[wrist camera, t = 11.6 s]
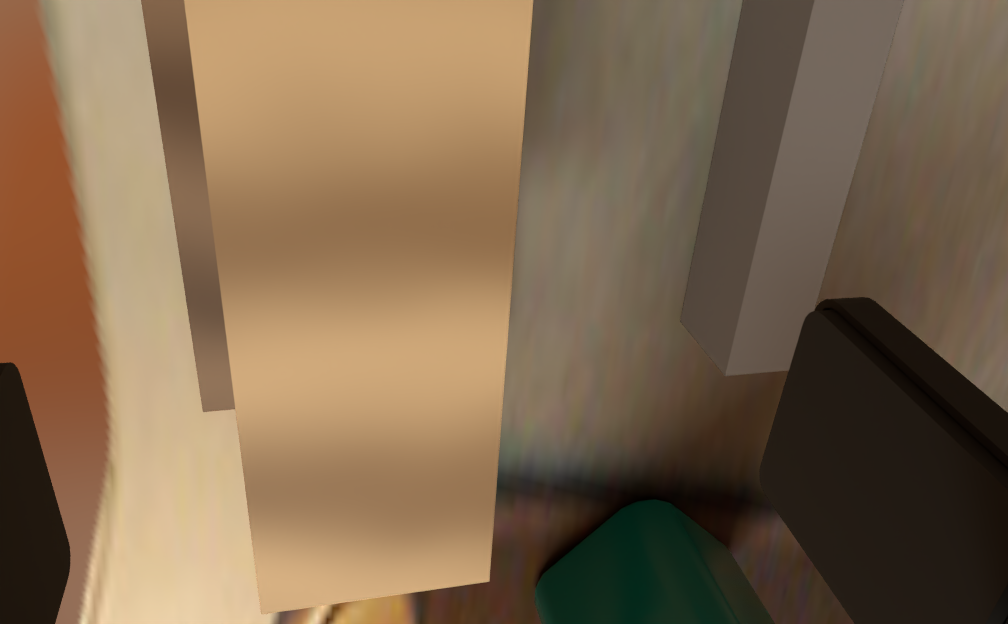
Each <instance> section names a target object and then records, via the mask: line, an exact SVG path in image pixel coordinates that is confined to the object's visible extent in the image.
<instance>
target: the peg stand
mask: <svg viewBox="0 0 1008 624" xmlns="http://www.w3.org/2000/svg"><path fill="white" fill-rule="evenodd" d="M141 3H142V9H143V16H144V22H145V29H146V36H147V42H148V49H149V56H150V62H151V69H152V76H153V82H154V89H155V96H156V102H157V109H158V116H159V122H160V129H161V135H162V142H163V149H164V155H165V162H166V169H167V175H168V182H169V189H170V195H171V202H172V209H173V215H174V222H175V229H176V235H177V242H178V248H179V255H180V262H181V268H182V275H183V282H184V288H185V295H186V302H187V308H188V315H189V322H190V328H191V335H192V342H193V348H194V355H195V362H196V368H197V375H198V381H199V388H200V395H201V401H202V408H203V412H208V411H219V410H231V409H235V402H234V394H233V386H232V378H231V370H230V362H229V354H228V346H227V338H226V330H225V322H224V314H223V306H222V298H221V290H220V282H219V274H218V266H217V259H216V251H215V243H214V235H213V227H212V219H211V211H210V203H209V195H208V187H207V179H206V171H205V163H204V155H203V147H202V139H201V131H200V123H199V115H198V107H197V99H196V91H195V83H194V75H193V67H192V60H191V52H190V44H189V36H188V28H187V20H186V12H185V4H184V0H141Z"/></svg>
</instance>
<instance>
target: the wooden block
mask: <svg viewBox="0 0 1008 624" xmlns="http://www.w3.org/2000/svg"><path fill="white" fill-rule="evenodd" d="M184 4H185V12H186V20H187V28H188V36H189V44H190V52H191V60H192V67H193V75H194V83H195V91H196V99H197V107H198V115H199V123H200V131H201V139H202V147H203V155H204V163H205V171H206V179H207V187H208V195H209V203H210V211H211V219H212V227H213V235H214V243H215V251H216V259H217V266H218V274H219V282H220V290H221V298H222V306H223V314H224V322H225V330H226V338H227V346H228V354H229V362H230V370H231V378H232V386H233V394H234V402H235V410H236V418H237V426H238V434H239V442H240V450H241V458H242V466H243V473H244V481H245V489H246V497H247V505H248V513H249V521H250V529H251V537H252V545H253V553H254V561H255V569H256V577H257V585H258V593H259V601H260V609H261V614H268V613H274V612H281V611H288V610H295V609H302V608H309V607H316V606H323V605H330V604H337V603H344V602H351V601H357V600H364V599H371V598H378V597H385V596H392V595H399V594H406V593H413V592H420V591H427V590H433V589H440V588H447V587H454V586H461V585H468V584H475V583H482V582H489V577H490V564H491V550H492V537H493V524H494V511H495V498H496V485H497V471H498V458H499V445H500V432H501V419H502V405H503V392H504V379H505V366H506V353H507V340H508V326H509V313H510V300H511V287H512V274H513V260H514V247H515V234H516V221H517V208H518V195H519V181H520V168H521V155H522V142H523V129H524V116H525V102H526V89H527V76H528V63H529V50H530V36H531V23H532V10H533V0H184Z"/></svg>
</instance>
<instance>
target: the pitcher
mask: <svg viewBox="0 0 1008 624" xmlns="http://www.w3.org/2000/svg"><path fill="white" fill-rule="evenodd" d="M534 602H535V605H536V608H537V611H538V614H539V617H540V620H541V623H542V624H775V623H774V621H773V620H772V618H771V617H770V615H769V613H768V612H767V610H766V609H765V607H764V605H763V604H762V602H761V601H760V599H759V597H758V596H757V594H756V593H755V591H754V589H753V588H752V586H751V585H750V583H749V581H748V580H747V578H746V577H745V575H744V574H743V572H742V570H741V569H740V567H739V566H738V564H737V562H736V561H735V559H734V558H733V556H732V554H731V553H730V551H729V550H728V548H727V547H726V546H725V545H723V544H722V543H721V542H720V541H718V540H717V539H716V538H715V537H713V536H712V535H711V534H709V533H708V532H707V531H706V530H704V529H703V528H702V527H701V526H699V525H698V524H697V523H695V522H694V521H693V520H692V519H690V518H689V517H688V516H687V515H685V514H684V513H683V512H681V511H680V510H679V509H678V508H676V507H675V506H674V505H673V504H671V503H670V502H668V501H663V500H658V499H649V500H642V501H635V502H633V503H631V504H629V505H626V506H624V507H622V508H621V509H620V510H618V511H617V512H616V513H615V514H614V515H612V516H611V517H610V518H609V519H608V520H606V521H605V522H604V523H603V524H602V525H600V526H599V527H598V528H597V529H596V530H594V531H593V532H592V533H591V534H590V535H588V536H587V537H586V538H585V539H584V540H582V541H581V542H580V543H579V544H578V545H576V546H575V547H574V548H573V549H572V550H570V551H569V552H568V553H567V554H566V555H564V556H563V557H562V558H561V559H560V560H558V561H557V562H556V563H555V564H554V565H552V566H551V567H550V568H549V569H548V570H546V571H545V572H544V573H543V575H542V576H541V578H540V580H539V581H538V583H537V585H536V590H535V601H534Z"/></svg>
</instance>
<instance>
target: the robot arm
mask: <svg viewBox="0 0 1008 624" xmlns="http://www.w3.org/2000/svg"><path fill="white" fill-rule="evenodd" d="M760 482H761V486H762V489H763V491H764V493H765V495H766V497H767V498H768V499H769V501H770V502H771V504H772V505H773V507H774V508H775V510H776V511H777V512H778V514H779V515H780V517H781V518H782V520H783V521H784V522H785V524H786V525H787V527H788V528H789V530H790V531H791V533H792V534H793V535H794V537H795V538H796V540H797V541H798V543H799V544H800V546H801V547H802V548H803V550H804V551H805V553H806V554H807V556H808V557H809V559H810V560H811V561H812V563H813V564H814V566H815V567H816V569H817V570H818V571H819V573H820V574H821V576H822V577H823V579H824V580H825V582H826V583H827V584H828V586H829V587H830V589H831V590H832V592H833V593H834V595H835V596H836V597H837V599H838V600H839V602H840V603H841V605H842V606H843V608H844V609H845V610H846V612H847V613H848V615H849V616H850V618H851V619H852V620H853V622H854V623H855V624H1008V413H1007V412H1006V411H1005V410H1003V409H1002V408H1001V407H1000V406H999V405H998V404H996V403H995V402H994V401H993V400H992V399H990V398H989V397H988V396H987V395H986V394H984V393H983V392H982V391H981V390H980V389H979V388H977V387H976V386H975V385H974V384H973V383H971V382H970V381H969V380H968V379H967V378H965V377H964V376H963V375H962V374H961V373H959V372H958V371H957V370H956V369H955V368H954V367H952V366H951V365H950V364H949V363H948V362H946V361H945V360H944V359H943V358H942V357H940V356H939V355H938V354H937V353H936V352H935V351H933V350H932V349H931V348H930V347H929V346H927V345H926V344H925V343H924V342H923V341H921V340H920V339H919V338H918V337H917V336H916V335H914V334H913V333H912V332H911V331H910V330H908V329H907V328H906V327H905V326H904V325H902V324H901V323H900V322H899V321H898V320H897V319H895V318H894V317H893V316H892V315H891V314H889V313H888V312H887V311H886V310H885V309H883V308H882V307H881V306H880V305H879V304H877V303H876V302H875V301H873V300H872V299H870V298H865V297H858V298H842V299H826V300H824V301H822V302H820V303H819V304H818V306H817V307H816V308H815V311H813V312H810V313H809V314H808V315H807V316H806V317H805V320H804V322H803V325H802V328H801V332H800V335H799V338H798V342H797V345H796V348H795V352H794V355H793V358H792V362H791V365H790V368H789V372H788V375H787V379H786V382H785V385H784V389H783V392H782V395H781V399H780V402H779V405H778V409H777V412H776V415H775V419H774V422H773V425H772V429H771V432H770V435H769V439H768V442H767V445H766V449H765V452H764V456H763V459H762V462H761V466H760ZM69 570H70V546H69V542H68V538H67V534H66V531H65V528H64V524H63V521H62V517H61V514H60V511H59V507H58V503H57V500H56V497H55V493H54V490H53V486H52V483H51V479H50V476H49V472H48V469H47V466H46V462H45V459H44V455H43V452H42V449H41V445H40V441H39V438H38V435H37V431H36V428H35V424H34V421H33V417H32V414H31V410H30V407H29V403H28V400H27V397H26V393H25V390H24V387H23V383H22V380H21V376H20V373H19V371H18V368H17V367H16V366H15V364H13V363H0V624H55V622H56V618H57V615H58V611H59V608H60V604H61V601H62V597H63V594H64V590H65V587H66V584H67V580H68V576H69Z"/></svg>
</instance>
